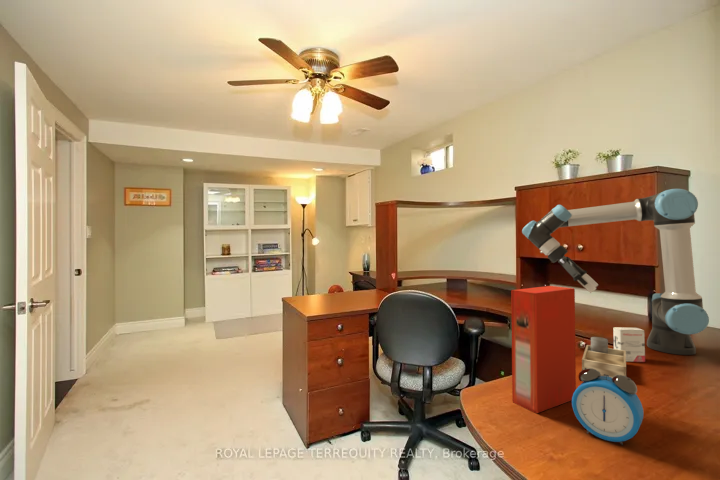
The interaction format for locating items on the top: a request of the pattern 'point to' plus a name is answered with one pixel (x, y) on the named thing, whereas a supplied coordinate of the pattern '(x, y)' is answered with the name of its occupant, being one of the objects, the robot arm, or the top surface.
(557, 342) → the file binder
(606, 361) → the desk organizer
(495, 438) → the top surface
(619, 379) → the alarm clock
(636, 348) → the ink box
